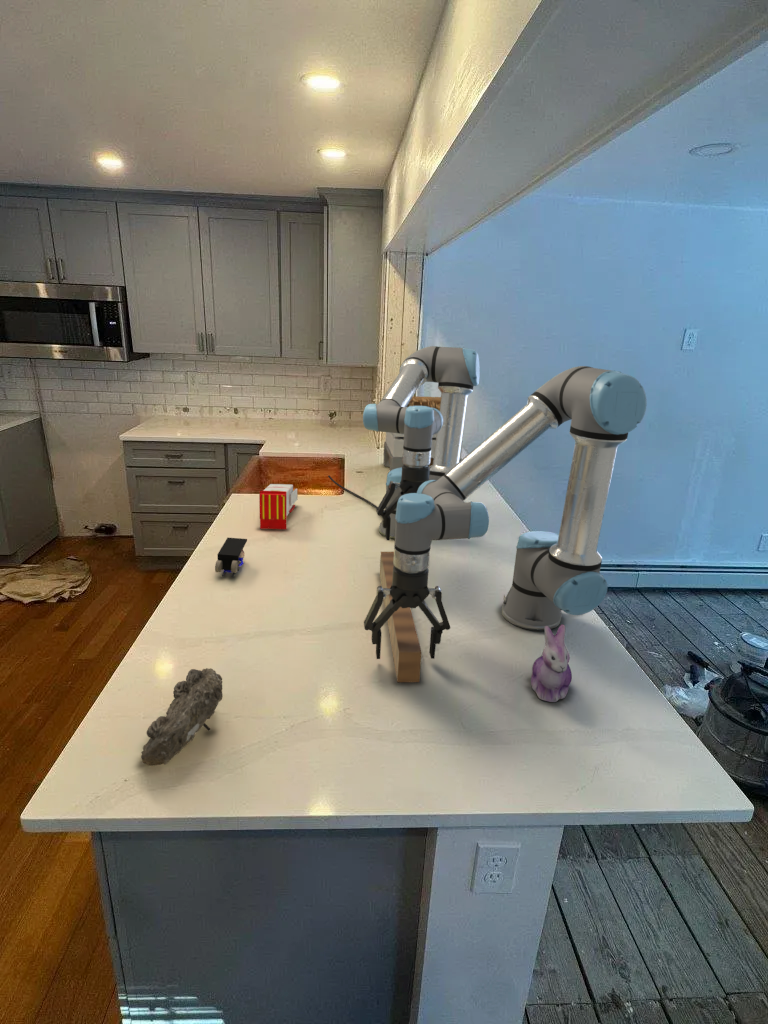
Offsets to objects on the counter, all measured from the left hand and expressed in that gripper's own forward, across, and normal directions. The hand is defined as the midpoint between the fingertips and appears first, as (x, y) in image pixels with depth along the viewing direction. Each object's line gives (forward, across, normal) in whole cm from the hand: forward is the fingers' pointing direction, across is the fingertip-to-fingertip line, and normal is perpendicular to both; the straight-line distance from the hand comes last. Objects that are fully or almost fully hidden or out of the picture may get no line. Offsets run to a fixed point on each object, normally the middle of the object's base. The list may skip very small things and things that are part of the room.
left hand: (411, 538), depth 159 cm
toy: (+14, -37, +58) cm, 70 cm away
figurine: (+15, +20, -51) cm, 57 cm away
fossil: (+15, -53, -54) cm, 77 cm away
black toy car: (+14, -50, +13) cm, 54 cm away
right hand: (+12, -9, -38) cm, 41 cm away
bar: (+14, -7, -19) cm, 25 cm away
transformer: (+13, +30, +115) cm, 119 cm away
